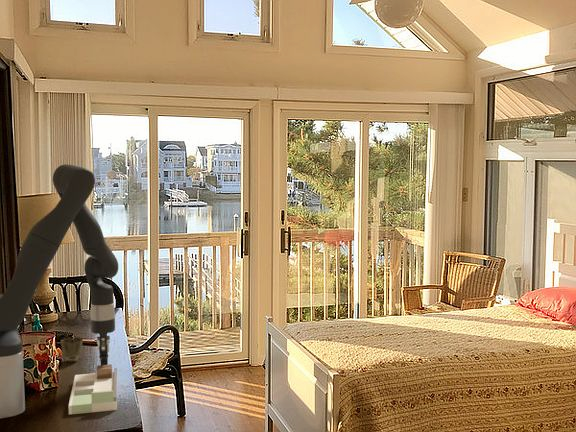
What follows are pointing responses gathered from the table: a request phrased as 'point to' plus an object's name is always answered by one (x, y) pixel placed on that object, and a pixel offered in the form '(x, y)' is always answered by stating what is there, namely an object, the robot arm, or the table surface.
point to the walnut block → (104, 371)
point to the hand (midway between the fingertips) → (104, 369)
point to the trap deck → (93, 394)
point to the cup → (71, 348)
